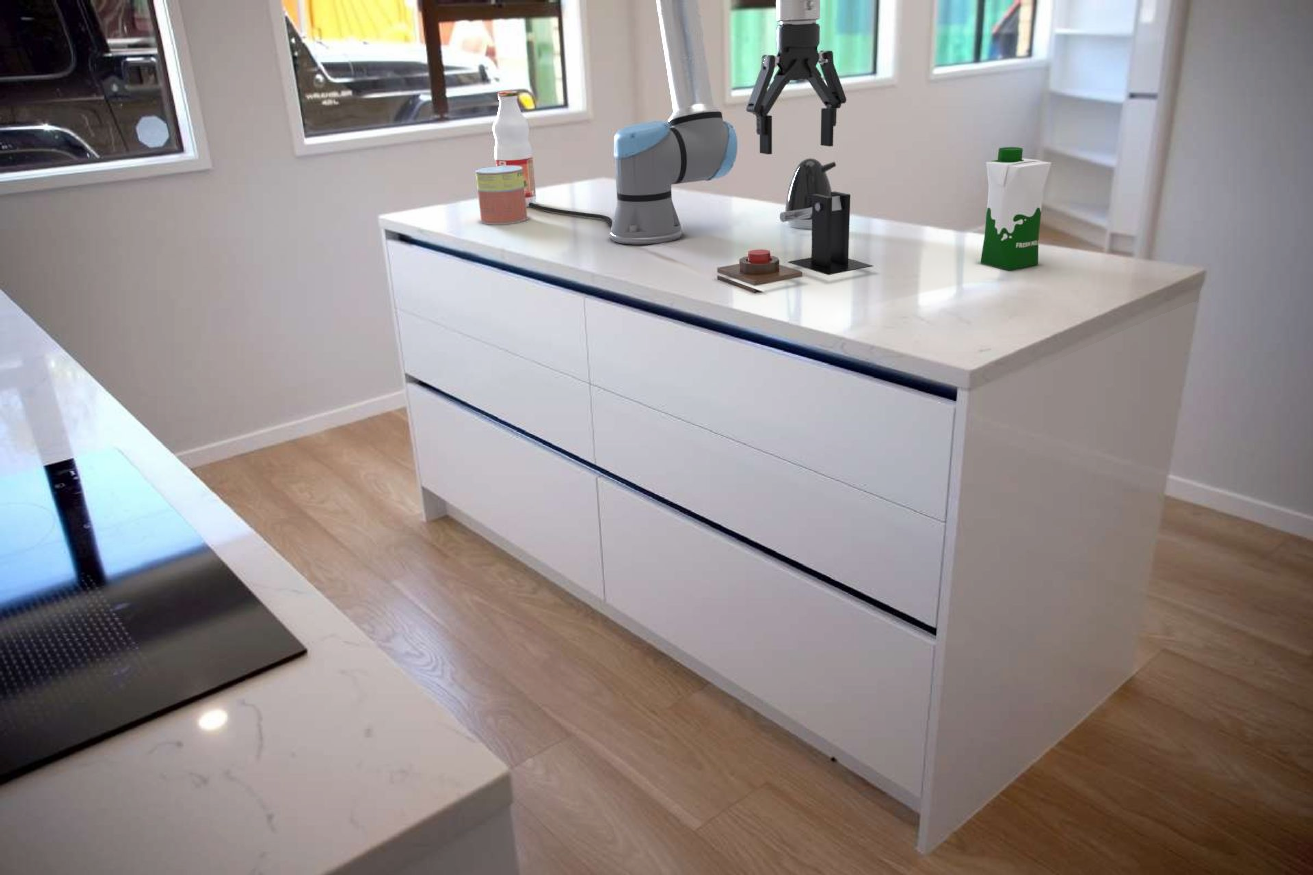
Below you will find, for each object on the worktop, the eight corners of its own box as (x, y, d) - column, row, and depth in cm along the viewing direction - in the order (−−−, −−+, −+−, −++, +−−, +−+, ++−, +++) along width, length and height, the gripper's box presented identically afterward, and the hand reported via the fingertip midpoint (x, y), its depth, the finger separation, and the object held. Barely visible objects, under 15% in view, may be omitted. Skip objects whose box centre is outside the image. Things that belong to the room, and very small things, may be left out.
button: (743, 261, 176) (743, 251, 175) (762, 258, 177) (762, 248, 177) (756, 265, 172) (755, 255, 172) (775, 262, 174) (775, 252, 173)
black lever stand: (787, 269, 183) (788, 193, 178) (830, 261, 188) (832, 187, 182) (827, 282, 174) (829, 202, 168) (872, 273, 178) (876, 195, 172)
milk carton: (1008, 256, 185) (1019, 145, 177) (1046, 265, 178) (1059, 149, 170) (972, 263, 181) (981, 150, 174) (1010, 272, 174) (1021, 155, 166)
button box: (717, 279, 179) (716, 257, 177) (763, 271, 183) (763, 249, 182) (754, 293, 169) (754, 270, 168) (802, 284, 173) (802, 261, 172)
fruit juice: (544, 203, 258) (534, 90, 247) (518, 210, 252) (506, 93, 241) (519, 201, 264) (508, 89, 253) (492, 207, 257) (480, 93, 246)
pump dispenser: (833, 236, 207) (835, 161, 201) (783, 236, 209) (783, 162, 203) (835, 226, 216) (837, 154, 210) (787, 226, 218) (787, 155, 212)
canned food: (536, 219, 239) (531, 168, 234) (493, 226, 233) (487, 174, 229) (514, 213, 248) (509, 164, 243) (473, 220, 242) (467, 169, 237)
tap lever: (780, 224, 185) (778, 211, 185) (806, 220, 188) (804, 207, 188) (823, 212, 173) (821, 198, 173) (850, 208, 176) (848, 194, 176)
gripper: (750, 26, 164) (751, 159, 172) (868, 19, 174) (864, 144, 183) (725, 27, 170) (727, 155, 178) (841, 19, 181) (838, 140, 189)
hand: (796, 149), depth 181 cm, fingers open, 13 cm apart
